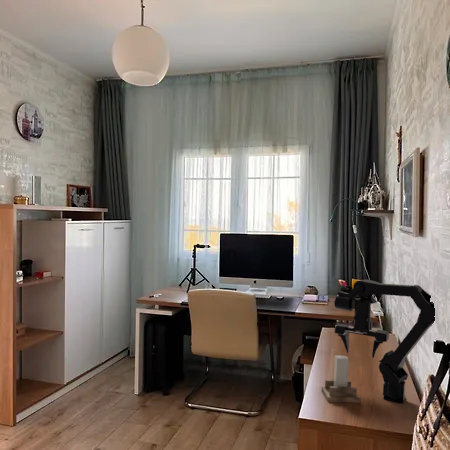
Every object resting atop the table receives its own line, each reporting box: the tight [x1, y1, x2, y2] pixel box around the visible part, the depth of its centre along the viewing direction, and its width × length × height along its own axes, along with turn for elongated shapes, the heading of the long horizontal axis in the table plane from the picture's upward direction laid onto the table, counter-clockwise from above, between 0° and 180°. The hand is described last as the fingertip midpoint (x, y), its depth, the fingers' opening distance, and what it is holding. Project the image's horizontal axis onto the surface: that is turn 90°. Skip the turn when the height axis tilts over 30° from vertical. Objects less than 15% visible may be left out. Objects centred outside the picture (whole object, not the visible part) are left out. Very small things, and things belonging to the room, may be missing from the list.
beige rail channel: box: [320, 378, 361, 404], centre depth 151 cm, size 11×9×4 cm
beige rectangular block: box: [333, 355, 350, 387], centre depth 151 cm, size 4×3×12 cm
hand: (360, 355), depth 160 cm, fingers open, 9 cm apart
